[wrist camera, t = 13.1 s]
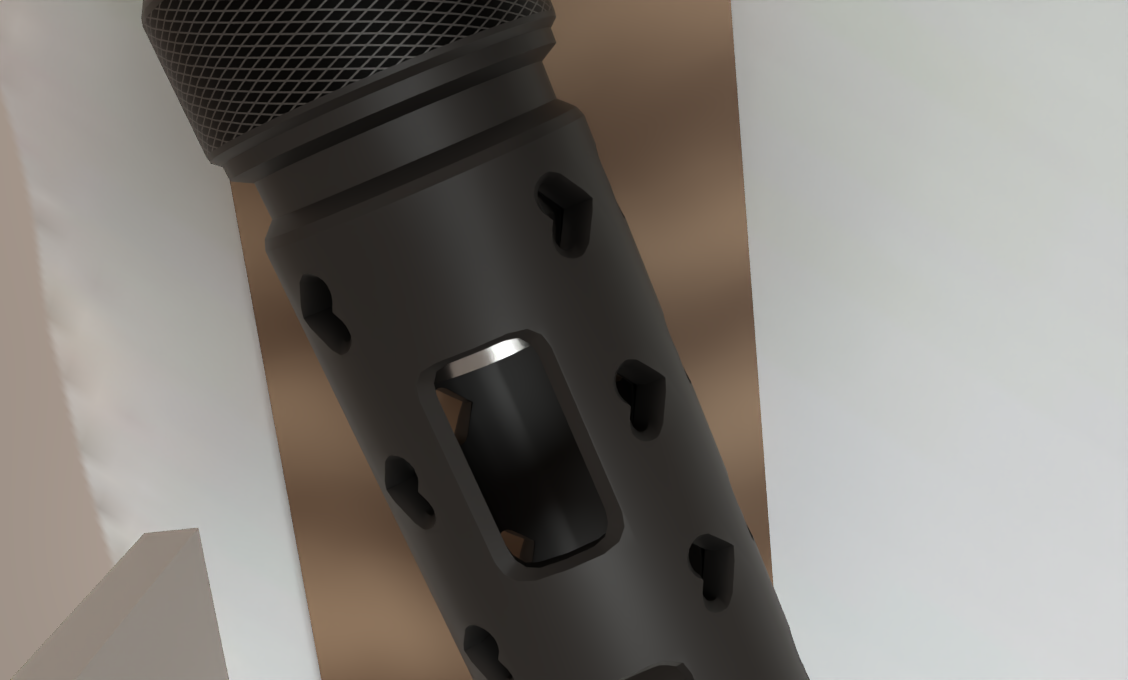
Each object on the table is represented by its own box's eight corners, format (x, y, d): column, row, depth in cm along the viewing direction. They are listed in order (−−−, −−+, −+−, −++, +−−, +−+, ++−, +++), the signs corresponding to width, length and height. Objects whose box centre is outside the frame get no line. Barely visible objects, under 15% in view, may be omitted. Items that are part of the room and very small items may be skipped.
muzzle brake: (547, 735, 38) (549, 969, 28) (185, -30, 32) (20, -87, 22) (798, 639, 37) (894, 843, 27) (478, -160, 31) (448, -282, 21)
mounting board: (166, -231, 32) (110, -278, 27) (701, -294, 31) (725, -351, 27) (356, 816, 40) (334, 899, 36) (780, 769, 40) (808, 847, 36)
